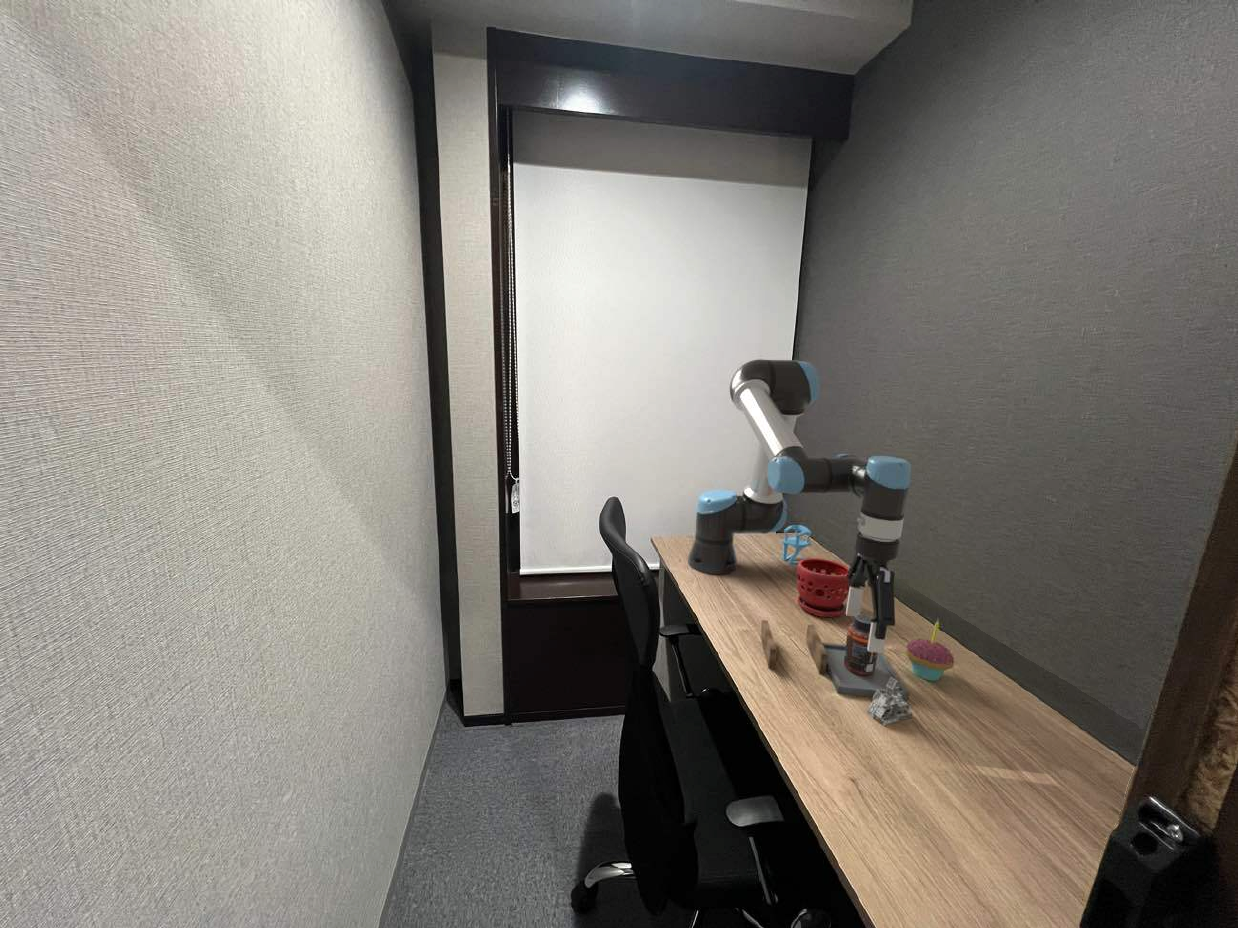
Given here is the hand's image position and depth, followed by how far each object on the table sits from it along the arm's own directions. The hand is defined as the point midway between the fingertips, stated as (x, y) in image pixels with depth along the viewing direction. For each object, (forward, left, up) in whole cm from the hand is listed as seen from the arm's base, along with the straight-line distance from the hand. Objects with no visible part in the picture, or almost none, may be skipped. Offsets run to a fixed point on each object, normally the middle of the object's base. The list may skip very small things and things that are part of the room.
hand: (863, 632), depth 103 cm
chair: (-60, -1, -9) cm, 60 cm away
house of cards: (+11, +1, -10) cm, 14 cm away
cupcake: (-1, +14, -9) cm, 17 cm away
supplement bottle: (0, 0, -8) cm, 8 cm away
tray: (0, 0, -9) cm, 9 cm away
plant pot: (-28, -1, -9) cm, 29 cm away
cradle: (-4, -13, -9) cm, 16 cm away
